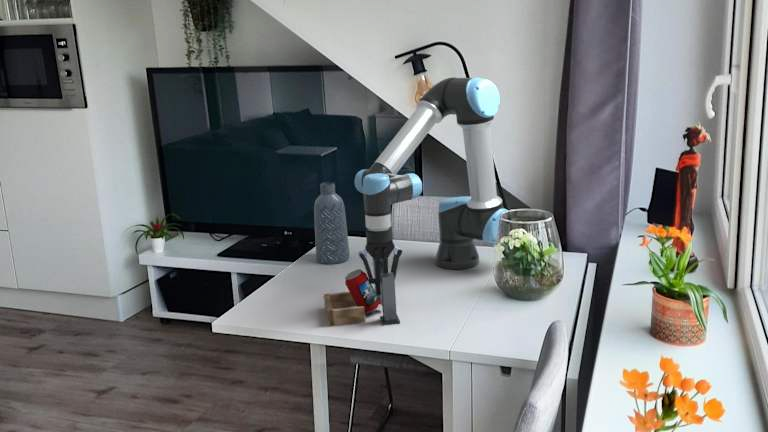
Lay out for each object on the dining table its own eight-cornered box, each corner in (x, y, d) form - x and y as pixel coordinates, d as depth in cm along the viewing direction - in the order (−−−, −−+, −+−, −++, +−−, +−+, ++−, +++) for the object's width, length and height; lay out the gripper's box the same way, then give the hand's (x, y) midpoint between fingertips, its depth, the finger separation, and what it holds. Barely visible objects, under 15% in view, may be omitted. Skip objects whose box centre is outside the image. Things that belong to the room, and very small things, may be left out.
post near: (397, 317, 221) (394, 271, 217) (400, 323, 216) (397, 276, 213) (380, 318, 220) (377, 273, 217) (382, 325, 215) (379, 278, 212)
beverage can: (378, 310, 221) (360, 275, 218) (358, 317, 223) (340, 282, 220) (383, 300, 227) (365, 265, 224) (364, 307, 229) (346, 272, 226)
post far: (388, 297, 237) (385, 254, 233) (390, 303, 232) (388, 259, 228) (372, 299, 236) (369, 256, 233) (374, 304, 231) (371, 260, 228)
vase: (355, 259, 275) (350, 183, 268) (325, 267, 269) (319, 189, 262) (340, 252, 285) (334, 178, 278) (310, 258, 280) (304, 183, 272)
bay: (359, 304, 232) (358, 290, 231) (365, 322, 218) (364, 307, 217) (325, 308, 231) (323, 294, 230) (328, 326, 217) (327, 311, 216)
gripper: (398, 222, 224) (402, 297, 230) (354, 226, 222) (360, 302, 228) (403, 228, 217) (407, 306, 223) (358, 233, 215) (363, 311, 221)
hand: (383, 304), depth 225 cm, fingers closed
